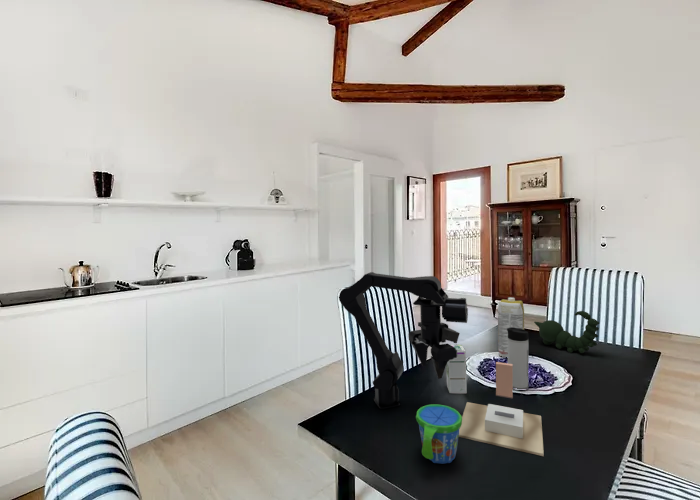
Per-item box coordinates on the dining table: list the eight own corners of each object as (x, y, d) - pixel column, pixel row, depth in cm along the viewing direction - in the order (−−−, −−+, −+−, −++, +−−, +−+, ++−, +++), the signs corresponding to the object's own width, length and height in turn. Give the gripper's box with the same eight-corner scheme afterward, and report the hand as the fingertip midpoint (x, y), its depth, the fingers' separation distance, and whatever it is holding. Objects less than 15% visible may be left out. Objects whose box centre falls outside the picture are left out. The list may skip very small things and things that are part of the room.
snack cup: (434, 432, 95) (433, 395, 94) (473, 447, 88) (472, 407, 87) (403, 463, 83) (402, 421, 82) (445, 483, 76) (444, 438, 76)
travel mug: (503, 383, 121) (502, 326, 120) (521, 382, 122) (521, 325, 120) (513, 392, 115) (512, 331, 114) (532, 390, 116) (532, 330, 114)
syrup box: (467, 393, 115) (466, 350, 114) (448, 393, 116) (447, 350, 115) (463, 385, 121) (462, 344, 120) (445, 385, 121) (445, 344, 120)
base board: (456, 436, 93) (456, 434, 93) (467, 403, 109) (467, 402, 109) (543, 456, 84) (543, 453, 84) (541, 417, 100) (541, 415, 100)
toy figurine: (598, 357, 145) (538, 337, 165) (604, 313, 142) (542, 297, 162) (587, 363, 139) (526, 341, 160) (593, 317, 137) (530, 300, 157)
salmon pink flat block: (495, 395, 96) (495, 363, 95) (496, 393, 97) (496, 361, 96) (512, 398, 94) (512, 365, 93) (512, 396, 95) (512, 364, 94)
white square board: (484, 430, 94) (484, 419, 94) (488, 413, 102) (488, 403, 102) (522, 438, 90) (522, 426, 90) (523, 420, 98) (523, 409, 98)
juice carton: (524, 354, 146) (524, 297, 144) (522, 361, 139) (522, 301, 138) (500, 351, 151) (500, 295, 149) (497, 357, 144) (496, 299, 143)
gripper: (473, 325, 97) (474, 380, 98) (438, 310, 115) (439, 357, 116) (437, 330, 94) (438, 387, 95) (407, 313, 112) (408, 361, 113)
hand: (431, 371), depth 105 cm, fingers open, 9 cm apart
